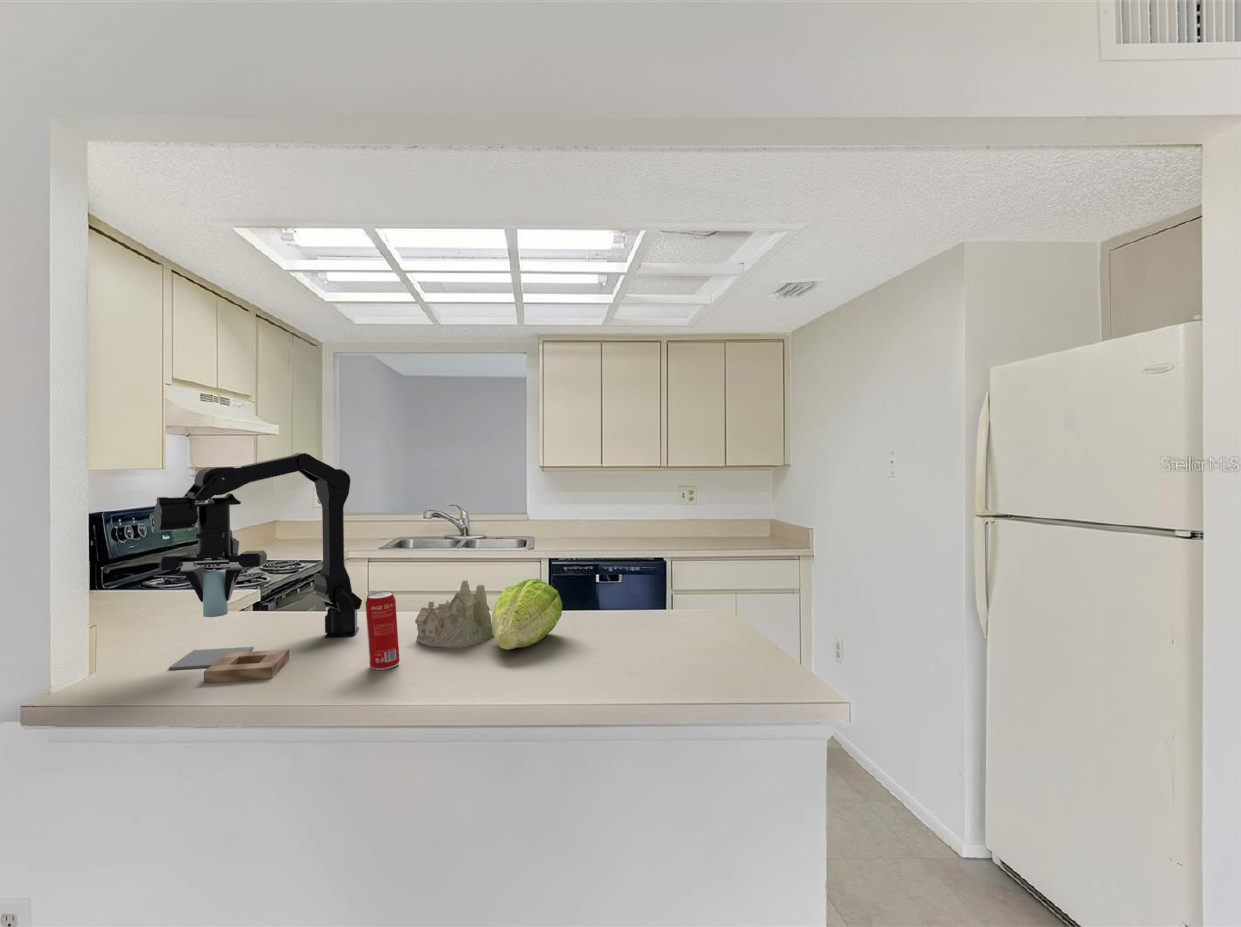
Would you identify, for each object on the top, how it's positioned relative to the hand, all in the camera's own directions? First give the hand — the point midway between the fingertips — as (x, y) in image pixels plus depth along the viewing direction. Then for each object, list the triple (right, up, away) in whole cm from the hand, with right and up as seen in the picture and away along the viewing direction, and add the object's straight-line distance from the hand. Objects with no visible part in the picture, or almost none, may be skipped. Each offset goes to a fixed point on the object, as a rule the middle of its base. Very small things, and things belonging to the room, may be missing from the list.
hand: (215, 601), depth 141 cm
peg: (0, -3, 0) cm, 3 cm away
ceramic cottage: (+47, -12, +17) cm, 51 cm away
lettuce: (+63, -12, +12) cm, 65 cm away
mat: (-1, -13, +1) cm, 13 cm away
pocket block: (+11, -13, -7) cm, 18 cm away
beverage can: (+37, -13, -4) cm, 39 cm away
